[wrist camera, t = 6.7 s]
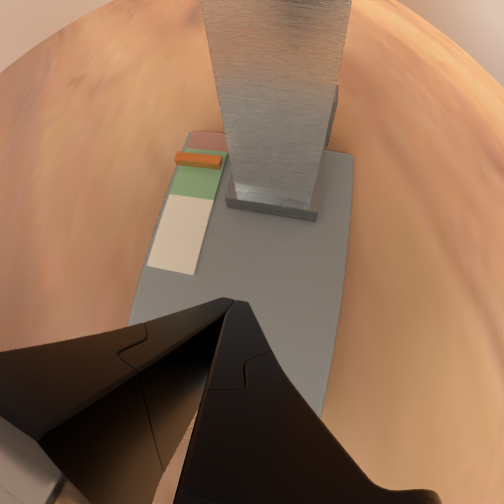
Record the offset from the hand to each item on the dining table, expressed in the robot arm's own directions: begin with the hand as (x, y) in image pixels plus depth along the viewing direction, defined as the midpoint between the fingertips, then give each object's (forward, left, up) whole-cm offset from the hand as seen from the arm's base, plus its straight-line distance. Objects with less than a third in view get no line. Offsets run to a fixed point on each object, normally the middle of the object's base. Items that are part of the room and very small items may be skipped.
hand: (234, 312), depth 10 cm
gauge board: (+5, -2, -8) cm, 9 cm away
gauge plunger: (+8, -4, -6) cm, 11 cm away
